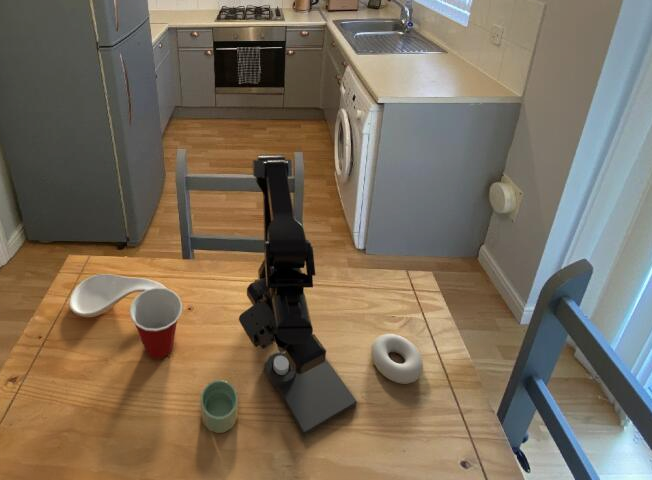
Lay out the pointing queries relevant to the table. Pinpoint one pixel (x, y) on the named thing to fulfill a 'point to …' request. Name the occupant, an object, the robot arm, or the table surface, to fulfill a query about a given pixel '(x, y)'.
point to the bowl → (219, 406)
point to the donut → (391, 369)
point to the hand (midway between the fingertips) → (281, 350)
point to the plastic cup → (156, 319)
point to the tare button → (281, 365)
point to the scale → (311, 394)
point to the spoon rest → (105, 293)
